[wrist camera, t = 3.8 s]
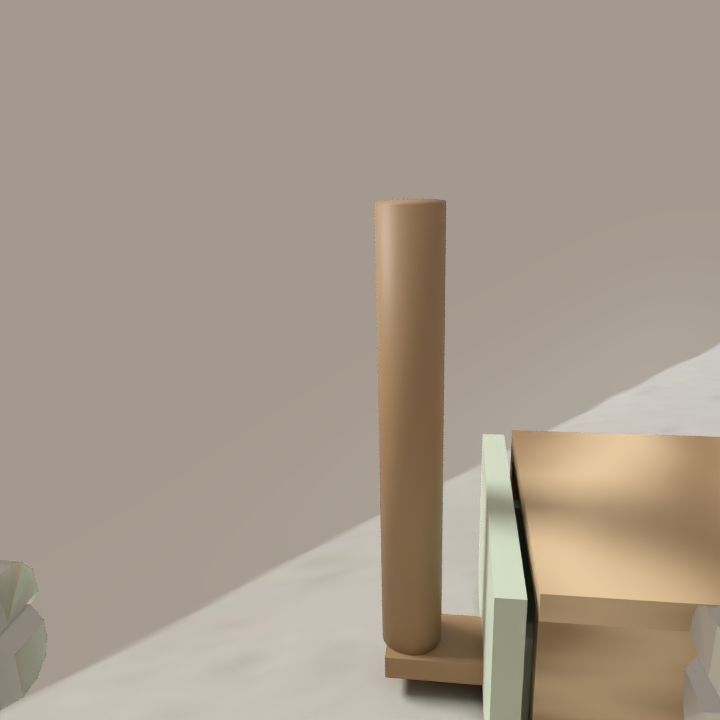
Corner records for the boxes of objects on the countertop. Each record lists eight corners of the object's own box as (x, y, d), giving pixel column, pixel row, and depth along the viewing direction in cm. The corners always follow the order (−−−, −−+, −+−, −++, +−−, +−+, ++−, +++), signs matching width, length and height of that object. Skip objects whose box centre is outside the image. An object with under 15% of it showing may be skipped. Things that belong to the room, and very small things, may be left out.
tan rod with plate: (788, 595, 27) (867, 181, 22) (967, 845, 17) (1174, 213, 12) (396, 571, 29) (391, 190, 24) (364, 781, 19) (346, 222, 15)
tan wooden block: (820, 606, 27) (855, 441, 24) (1017, 862, 17) (1101, 629, 15) (505, 586, 28) (512, 430, 26) (526, 809, 19) (540, 593, 17)
